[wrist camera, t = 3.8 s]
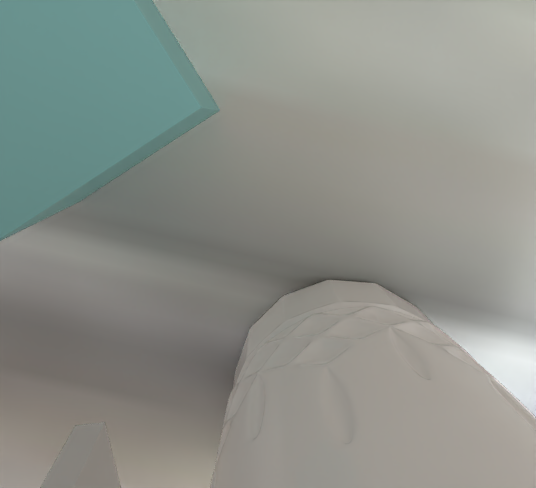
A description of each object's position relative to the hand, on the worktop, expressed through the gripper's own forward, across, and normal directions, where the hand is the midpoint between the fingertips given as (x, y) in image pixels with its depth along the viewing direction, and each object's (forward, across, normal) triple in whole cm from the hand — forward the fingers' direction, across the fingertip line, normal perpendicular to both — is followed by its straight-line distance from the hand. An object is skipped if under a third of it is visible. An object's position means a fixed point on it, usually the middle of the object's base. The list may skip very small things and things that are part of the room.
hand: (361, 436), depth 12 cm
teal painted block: (+4, +6, -10) cm, 12 cm away
